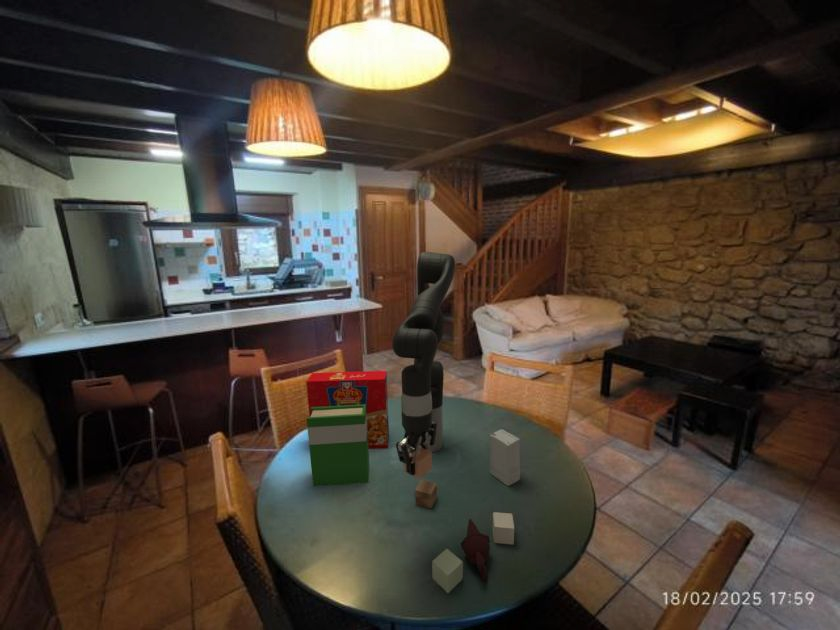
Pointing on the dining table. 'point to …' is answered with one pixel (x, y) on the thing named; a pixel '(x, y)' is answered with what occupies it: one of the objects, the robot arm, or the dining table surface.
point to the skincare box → (505, 457)
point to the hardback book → (338, 445)
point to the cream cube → (503, 528)
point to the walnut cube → (426, 494)
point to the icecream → (476, 548)
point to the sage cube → (447, 570)
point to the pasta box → (355, 398)
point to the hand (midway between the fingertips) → (418, 467)
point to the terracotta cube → (422, 462)
